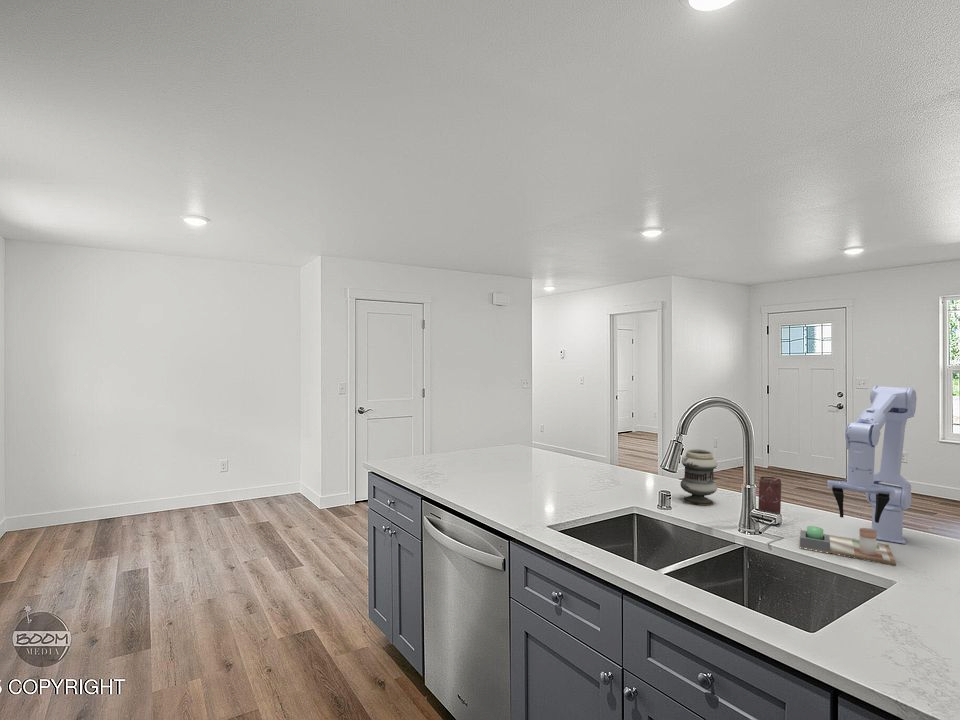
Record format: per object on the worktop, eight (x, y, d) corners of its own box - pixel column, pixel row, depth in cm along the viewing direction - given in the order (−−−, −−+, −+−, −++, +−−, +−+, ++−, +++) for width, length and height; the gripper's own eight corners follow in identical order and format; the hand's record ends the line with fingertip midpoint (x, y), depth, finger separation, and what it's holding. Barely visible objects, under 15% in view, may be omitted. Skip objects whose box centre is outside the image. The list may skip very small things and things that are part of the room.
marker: (858, 549, 146) (858, 527, 146) (875, 552, 144) (875, 529, 144) (860, 553, 143) (860, 531, 143) (877, 556, 141) (877, 533, 141)
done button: (806, 536, 152) (807, 525, 152) (822, 538, 150) (823, 527, 150) (806, 539, 149) (807, 529, 149) (823, 542, 147) (823, 531, 147)
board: (800, 532, 162) (800, 529, 162) (888, 546, 151) (888, 543, 151) (799, 548, 148) (799, 545, 148) (895, 565, 137) (896, 562, 137)
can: (785, 525, 168) (786, 480, 168) (766, 526, 167) (768, 480, 167) (771, 519, 174) (773, 475, 174) (753, 519, 173) (755, 476, 173)
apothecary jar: (678, 503, 190) (679, 452, 189) (681, 495, 201) (683, 446, 200) (716, 508, 185) (717, 455, 184) (717, 499, 195) (718, 450, 195)
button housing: (800, 539, 154) (800, 530, 154) (828, 543, 150) (829, 535, 150) (800, 546, 148) (800, 537, 148) (829, 551, 145) (830, 542, 145)
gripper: (828, 467, 144) (827, 518, 145) (897, 474, 137) (895, 528, 137) (827, 462, 150) (826, 511, 151) (893, 469, 143) (891, 521, 143)
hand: (858, 519), depth 144 cm, fingers open, 7 cm apart
